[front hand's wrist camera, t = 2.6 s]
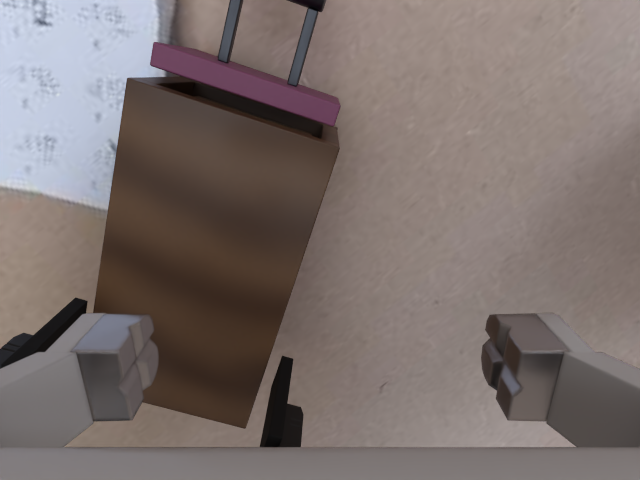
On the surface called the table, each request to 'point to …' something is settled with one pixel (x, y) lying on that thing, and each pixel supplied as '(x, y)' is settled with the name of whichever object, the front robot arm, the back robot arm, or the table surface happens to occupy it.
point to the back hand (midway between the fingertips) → (183, 344)
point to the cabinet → (209, 235)
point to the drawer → (253, 71)
